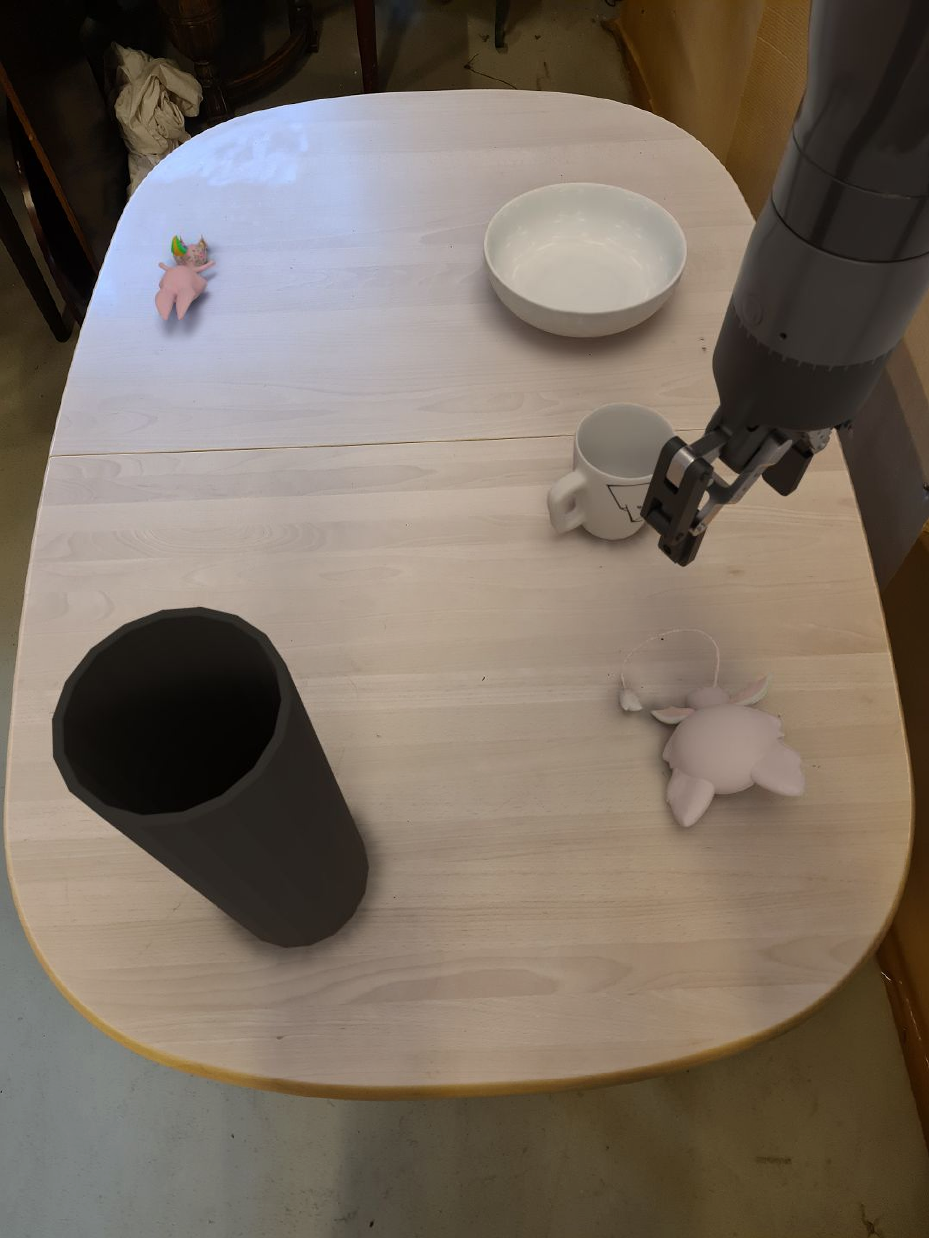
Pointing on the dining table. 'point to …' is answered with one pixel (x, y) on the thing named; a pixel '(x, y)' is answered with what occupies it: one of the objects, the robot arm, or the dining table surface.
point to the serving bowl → (583, 258)
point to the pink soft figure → (182, 278)
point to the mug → (610, 470)
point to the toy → (722, 746)
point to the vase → (214, 770)
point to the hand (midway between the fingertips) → (727, 518)
